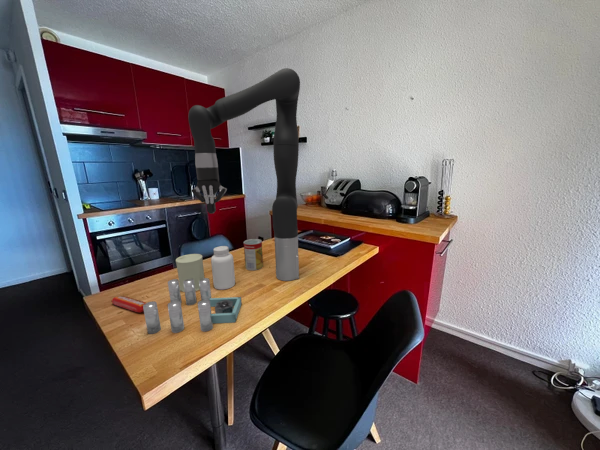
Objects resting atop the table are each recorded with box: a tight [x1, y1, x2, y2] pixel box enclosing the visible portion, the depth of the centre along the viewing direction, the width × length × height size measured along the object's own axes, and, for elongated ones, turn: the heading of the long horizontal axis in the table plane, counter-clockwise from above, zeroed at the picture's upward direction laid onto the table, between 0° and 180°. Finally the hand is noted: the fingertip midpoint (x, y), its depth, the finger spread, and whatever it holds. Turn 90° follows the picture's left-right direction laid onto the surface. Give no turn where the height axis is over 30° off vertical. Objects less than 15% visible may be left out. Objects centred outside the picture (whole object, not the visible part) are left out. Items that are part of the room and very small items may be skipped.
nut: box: [214, 300, 234, 314], centre depth 77 cm, size 5×6×3 cm
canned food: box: [243, 238, 264, 271], centre depth 111 cm, size 8×8×12 cm
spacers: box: [143, 277, 214, 335], centre depth 76 cm, size 18×17×8 cm
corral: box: [209, 296, 242, 324], centre depth 77 cm, size 10×10×2 cm
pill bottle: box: [210, 245, 236, 290], centre depth 93 cm, size 8×8×15 cm
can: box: [175, 253, 206, 293], centre depth 93 cm, size 9×9×12 cm
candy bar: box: [111, 295, 147, 313], centre depth 81 cm, size 16×4×3 cm, turn 66°
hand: (211, 213), depth 95 cm, fingers closed
